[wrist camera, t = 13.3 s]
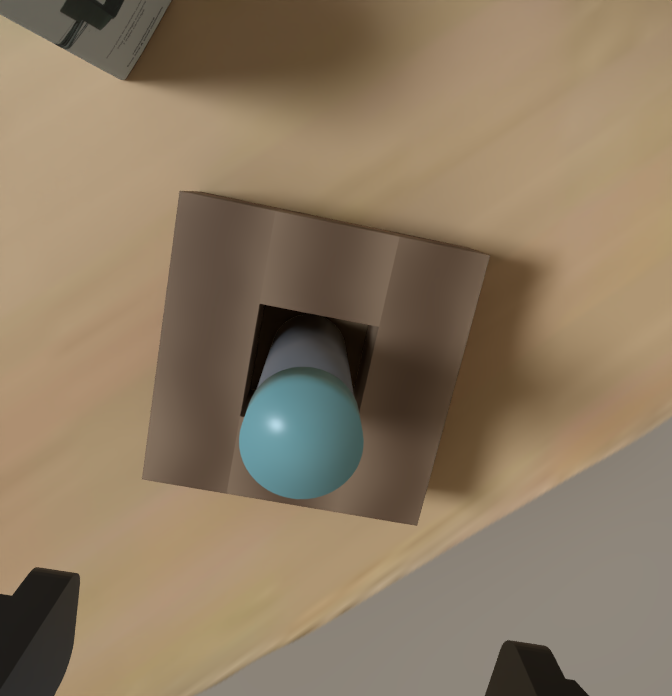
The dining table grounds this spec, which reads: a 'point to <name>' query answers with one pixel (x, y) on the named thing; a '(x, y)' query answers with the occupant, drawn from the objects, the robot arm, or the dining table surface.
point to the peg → (303, 413)
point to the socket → (320, 299)
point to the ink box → (92, 27)
